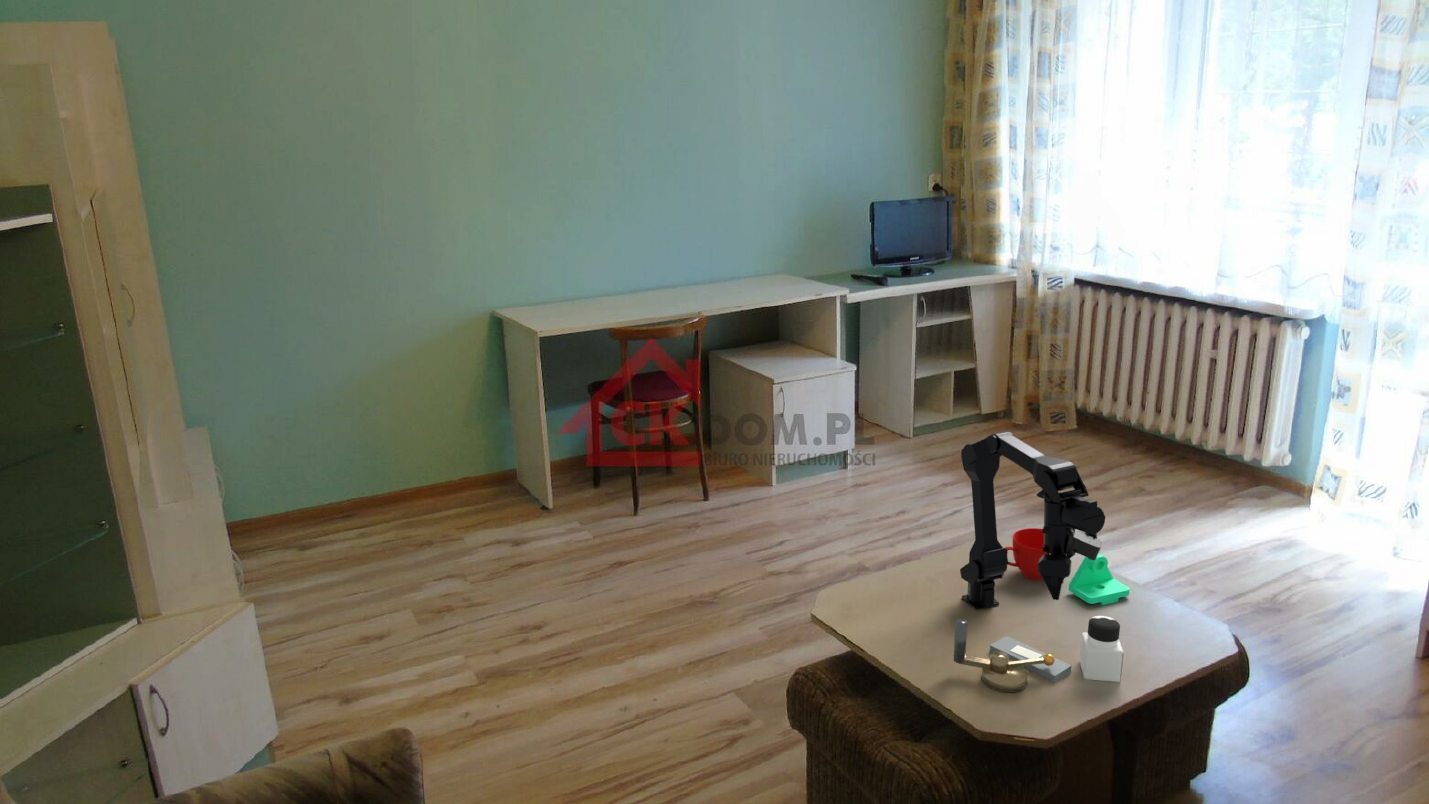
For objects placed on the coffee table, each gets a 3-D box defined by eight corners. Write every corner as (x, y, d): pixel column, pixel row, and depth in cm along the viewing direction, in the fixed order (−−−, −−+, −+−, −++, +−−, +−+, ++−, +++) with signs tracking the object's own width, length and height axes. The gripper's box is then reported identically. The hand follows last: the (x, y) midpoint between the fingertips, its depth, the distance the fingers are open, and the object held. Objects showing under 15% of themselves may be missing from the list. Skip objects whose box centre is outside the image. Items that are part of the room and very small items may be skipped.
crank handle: (1053, 670, 208) (1058, 620, 204) (1049, 700, 198) (1054, 648, 194) (958, 653, 215) (960, 605, 212) (949, 681, 205) (952, 631, 201)
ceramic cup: (986, 569, 254) (988, 533, 251) (1045, 561, 258) (1048, 525, 255) (1012, 592, 242) (1015, 554, 239) (1074, 583, 246) (1078, 546, 243)
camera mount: (1089, 608, 234) (1093, 568, 231) (1068, 594, 241) (1071, 555, 238) (1130, 599, 237) (1134, 559, 235) (1108, 585, 244) (1112, 547, 241)
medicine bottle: (1120, 682, 204) (1126, 630, 200) (1084, 679, 205) (1089, 627, 201) (1114, 664, 210) (1119, 613, 207) (1079, 661, 212) (1083, 610, 208)
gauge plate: (989, 651, 216) (990, 644, 216) (1006, 641, 220) (1006, 635, 219) (1054, 682, 204) (1055, 675, 204) (1071, 671, 208) (1071, 664, 207)
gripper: (1096, 538, 197) (1095, 612, 200) (1102, 510, 214) (1101, 579, 217) (1037, 534, 202) (1037, 606, 205) (1047, 507, 218) (1048, 574, 221)
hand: (1058, 591), depth 212 cm, fingers open, 9 cm apart
